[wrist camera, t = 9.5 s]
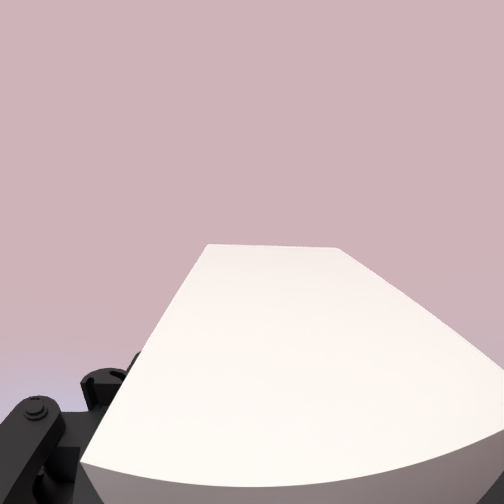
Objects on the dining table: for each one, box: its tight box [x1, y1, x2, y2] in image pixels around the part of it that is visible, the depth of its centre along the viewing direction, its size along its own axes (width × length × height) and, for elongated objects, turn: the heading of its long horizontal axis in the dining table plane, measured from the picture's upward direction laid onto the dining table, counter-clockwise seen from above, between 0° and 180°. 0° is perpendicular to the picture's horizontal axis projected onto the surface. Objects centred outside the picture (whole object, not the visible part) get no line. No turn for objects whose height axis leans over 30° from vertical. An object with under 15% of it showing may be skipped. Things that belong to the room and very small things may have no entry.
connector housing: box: [80, 244, 504, 504], centre depth 8 cm, size 5×10×10 cm, turn 1°
